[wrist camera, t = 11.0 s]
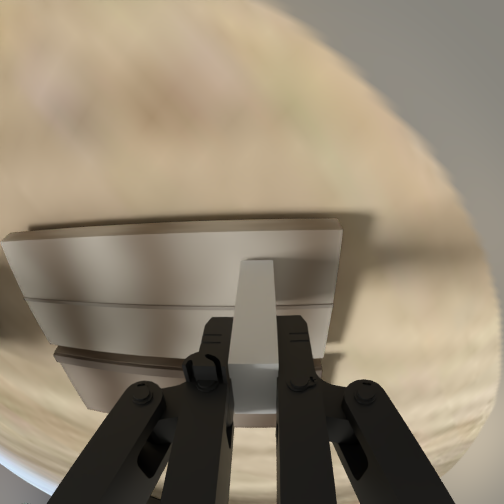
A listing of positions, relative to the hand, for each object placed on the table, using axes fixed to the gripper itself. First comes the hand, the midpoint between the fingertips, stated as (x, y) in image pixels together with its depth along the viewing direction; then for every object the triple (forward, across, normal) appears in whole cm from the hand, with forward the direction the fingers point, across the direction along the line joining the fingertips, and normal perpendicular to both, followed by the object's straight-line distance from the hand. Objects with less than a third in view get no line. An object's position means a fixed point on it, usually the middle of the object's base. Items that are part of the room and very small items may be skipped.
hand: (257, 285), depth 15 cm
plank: (+2, -6, -2) cm, 6 cm away
